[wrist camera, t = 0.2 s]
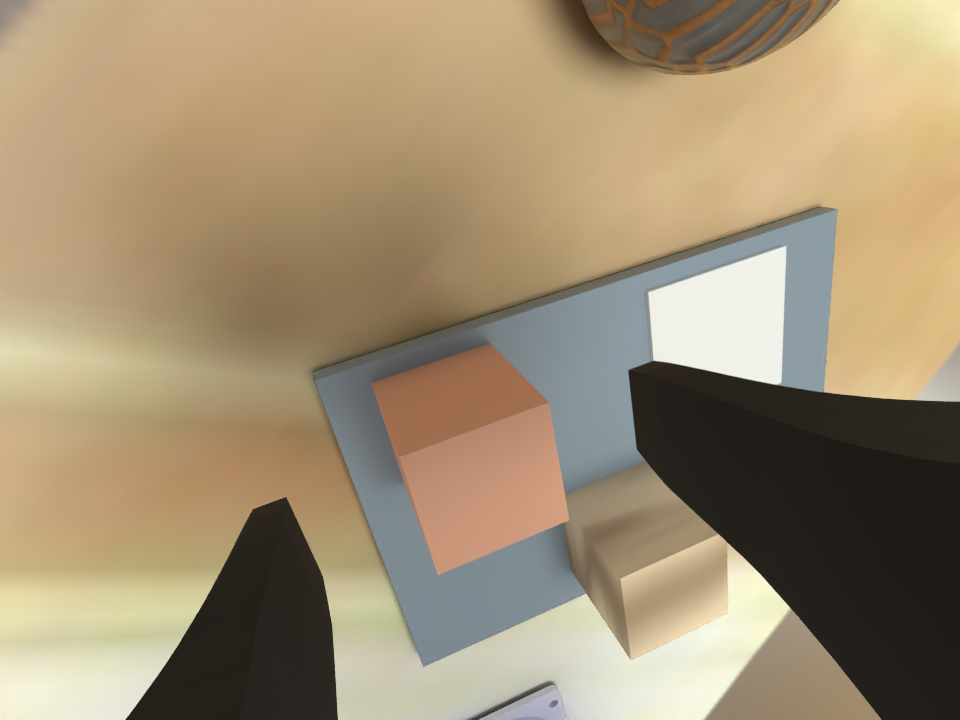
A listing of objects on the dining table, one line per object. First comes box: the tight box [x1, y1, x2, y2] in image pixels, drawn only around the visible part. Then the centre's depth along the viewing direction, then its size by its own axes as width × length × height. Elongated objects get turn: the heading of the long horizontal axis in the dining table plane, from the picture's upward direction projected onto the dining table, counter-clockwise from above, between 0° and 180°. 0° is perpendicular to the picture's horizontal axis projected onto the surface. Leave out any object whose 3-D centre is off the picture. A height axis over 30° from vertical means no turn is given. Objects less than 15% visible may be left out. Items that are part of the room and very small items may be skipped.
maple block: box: [563, 462, 728, 660], centre depth 24 cm, size 4×4×5 cm
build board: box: [313, 207, 837, 667], centre depth 25 cm, size 15×22×1 cm
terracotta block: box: [371, 343, 569, 575], centre depth 19 cm, size 4×4×5 cm
